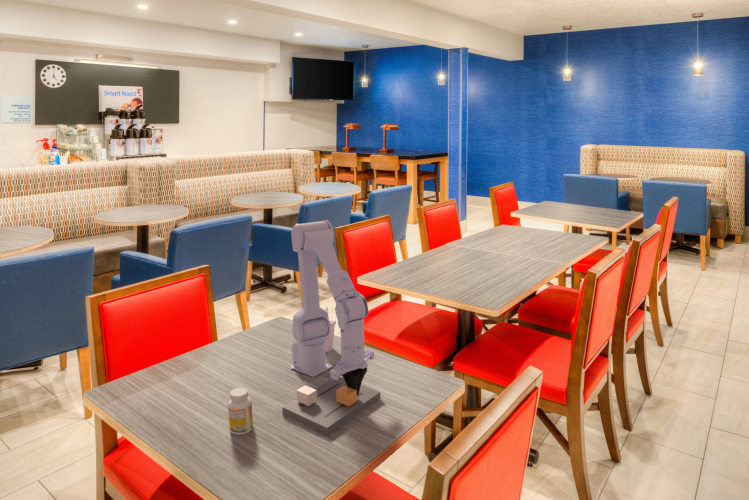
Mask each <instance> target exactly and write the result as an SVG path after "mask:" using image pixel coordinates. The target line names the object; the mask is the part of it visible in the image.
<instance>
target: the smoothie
mask: <svg viewBox="0 0 749 500" xmlns="http://www.w3.org/2000/svg"><path fill="white" fill-rule="evenodd" d="M325 311H326V312H327V313H328V312H329V310H328V306H326V307H325ZM328 314H329V313H328ZM328 317H329V321H330V325H331V331H330V334H329V335H328V336H327V340H325V353H329V352H332V351H333V349H334V348H333V347H334V339H335V338H334V337H335V329H336V328H335V327H336V323H337V320H336V318H334V317H330V316H328Z"/></svg>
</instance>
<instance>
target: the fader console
mask: <svg viewBox="0 0 749 500" xmlns="http://www.w3.org/2000/svg"><path fill="white" fill-rule="evenodd" d="M343 386H347V385H346V382H345V380H344V378H343V377H342V376H340V377H339V379H338V380H334V379H332V378H330V379H329V380H327V381H325V382H323V383H322V384H319V385H318V386H316V387H315V388H313V389H315V390H317V401H316V402H315V403H313V404H311V405H310V406H307V405H305V404H303V403H300V402H298V401H297V398H295V399H294V400H292V401H290V402H288V403H287V404H285V405H282V406H281V409H282V413H281V414H282V415H283V416H284V417H285V416H286V417H287V418H289V419H292V420H294V421H295V422H299V423H300V424H302V425H303V426H306V427H308V428H310V429H312V430H314V431H316V432H319V433H320V434H323V435H325V436H329V435H330V434H332V433H334V432H335V431H336V430H337V429H339V428H340V427H343V425H345V424H347V423H348V422H349V421H351V420H352V419H353V418H355V417H357V416H358V415H360V414H361V413H363V412H364V411H365V410H367V409H369V407H371V406H373V405H374V404H375V403H377V402H378V401H379V400H381V391H378V390H377V389H374V388H370V387H368V386H365V385H364V384H361V387H360V391H359V395H357V402H355V403H354V404H352V405H350V406H346V405H344V404H342V403H339V402H337V399H336V390H338V389H339V388H341V387H343Z"/></svg>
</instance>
